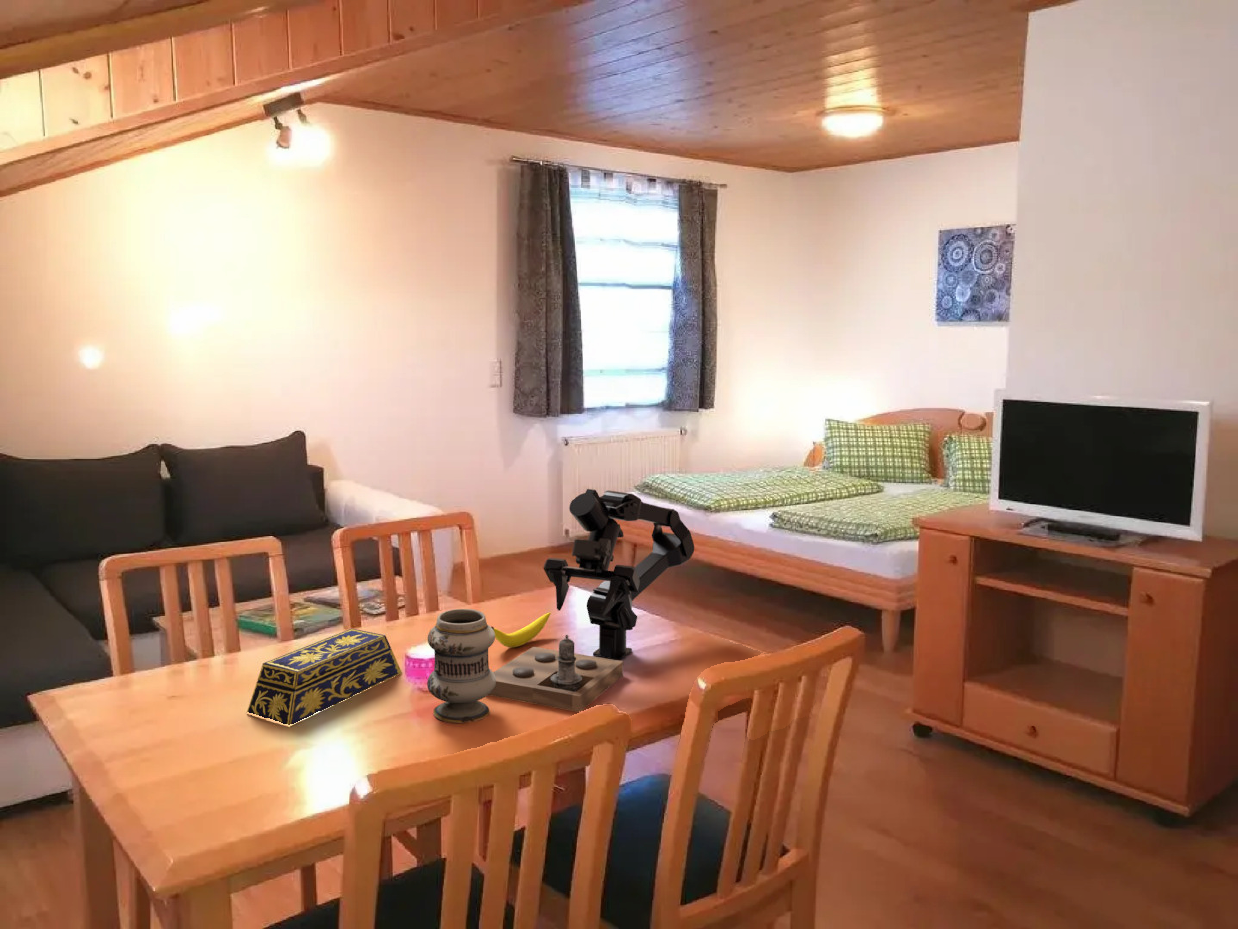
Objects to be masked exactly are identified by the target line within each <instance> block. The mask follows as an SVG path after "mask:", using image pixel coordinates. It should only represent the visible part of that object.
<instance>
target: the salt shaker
mask: <svg viewBox="0 0 1238 929" xmlns="http://www.w3.org/2000/svg"><path fill="white" fill-rule="evenodd" d="M558 651H559V656H558V657H557V660H558V672H557V674H554V675H553V676H551V681H552V684H553V687H554V688H556V689H562V690H567V691H573V692H577V691H578V690H577V689H578V688H579V685H580V681H581V680H582V677H581V676H580V675H578V674H576V673H575V660H576V657H574V653H575V642H574V641H573V640H572V639H570V638H569V635H568V634H566V635H565V636H564V638H563V639H561V640H560V641H559V643H558Z"/></svg>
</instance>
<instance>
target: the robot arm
mask: <svg viewBox="0 0 1238 929" xmlns="http://www.w3.org/2000/svg"><path fill="white" fill-rule="evenodd" d="M568 508H569V509H568V510H569V513H571V515H572V517H574V519H575V521H577V523H578V524H579V526H581V528H582V529H583V530H584V531H586V532H589V534H588V537H587V539H578V538H575V539H574V541H573V545H572V546H573V547H572V552H571V556H573V557H574V556H575V560H574V561H575V563H576V564H577V565H578V564H579V566H578V567H577V566H569V564H568V562H567V559H563V558H554V557H549V558H548V559H546V561H544V565H543V567H542V568H543V570H544V573H545V574H546V576H547V578H548V580H549V582H551V583H553V585H554V587H555V598H556V601H555V602H556V610H557V611H558V612H559V611H561V610H562V607H563V606H564V604H565V599H566V597H567V594H568V591H569V588H570V585H569V582H570V581H571V579H572V578H581V579H590V580H597V581H602V582H601V583H600V584H599V585H598V586H597V587H595V588H593V589H592V591H593V592H592V593H591V594H590V595H589V597H588V600H587V602H586V611H587V614H588V617H589V622H590V625H596V626H599V628H598V629H599V632H598V634H599V636H598V637H599V638H598V641H599V642H598V649H596V650H595V651H593V652H592V655H593V656H594V657H600V658H606V659H612V660H618V661H621V660H622V659H624V658H625V657H626V656H628V655H629V654H630V653H631V652H633V648H632V647H627V631H632V630H633V628H635V627H636V625H637V620H638V615H637V614H636V613H635V612H634V611H633V609H632V608H633V601H634V600H635V599H636V598H637V597H638V596H639V595H640V594H642V593H643V592H644V590H646V589H647V588H648V587H649V586H650V585H651V584H652V583H653V582H655V580H657V578H658V577H660V576H661V575H662V574H663V573H664V572H665V571H666V570H668V569H669V568H674V567H677V566H681V565H683V564H684V563H686V562H688V561H689V560H690V559H691V558H692V557H693V555H694V551H695V544H694V540H693V537H692V534H691V531H690V529H689V528H688V527H687V526H686V525H685V524H684V522H683V521H682V520H681V518H680V514H679V512H678V511H677V510H675V509H674V508H669V507H667V508H666V507H662V506H658V505H654V504H650V503H646V502H644V501H643V500H642V499H641V498H640V497H638V495H635V494H633V493H629V492H623V491H616V490H605V491H604V494H603V495H602V496H600V495H599V493H598V492H597V490H596V489H593V488H592V489H591V488H586V491H585V492H583V493H581V494H579V495H577V496H576V497H575V498H574V499H572V500H571V501H570V503H569V507H568ZM617 520H619V521H623V522H635V521H638V520H640V521H643V522H648V523H652V524H653V531H652V532H651V538H652V541H653V543H652V551H651V552H650V553H649V554H648V555H647V556H646V557H644V558H643V560H641V561H640V562H639V563H638V564H637V565H636V566H633V565H626V564H625V565H623V564H622V565H621V564H616V565H615V566H614V569H613V570H609V569H610V564H611V562H613V561H614V550H615V548H616V544H617V540H618V538H624V530H622V528H621V524H620V523H618V522H617ZM662 527H667V528H670V530H671V531H672V533H671V532H666V531H663V529H662Z"/></svg>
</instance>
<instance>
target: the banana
mask: <svg viewBox="0 0 1238 929" xmlns="http://www.w3.org/2000/svg"><path fill="white" fill-rule="evenodd" d="M551 614H552V612H551V611H549V612H548V613H544V614H543V615H542V616H540V617H538V618H537V619H535V620H534V621H533V622H531V623H530V624H528V625H526V626H525V627H523V628H521V629H518V630H516V631H513V632H511V633H506V632H504V631H502V630H500V629H498V628H495V627H494V626H490V627H491V628H492V629H493V631H494V633H495V640H496V641H498V642H499V643H500V644H501V645H502V646H504V647H507V648H517V647H520V646H522V645H525V644H527V643H528V642H530V641H532V640H533V639H534V638H535V637H537V636H538V634H539V633H541V631H542V630H543V629H544V627H545V626H546V624H547V622H548V620H549V619H550V617H551Z"/></svg>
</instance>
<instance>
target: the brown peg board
mask: <svg viewBox="0 0 1238 929" xmlns="http://www.w3.org/2000/svg"><path fill="white" fill-rule="evenodd" d="M558 656H559V650H555V649H551V648H550V649H549V648H544V647H539V646H538V647H537V646H532V647H531V648H528V650H526V651H525V652H523V653H521V654H520V655H518V656H516V657H515V658H513V659H512V660H510V661H508V662H507V663H506V664H504V665H502V666H501V667H500V668H498V669H496V670H495V671H492V672H493V673H494V675H495V678H496V684H495V687H494V689H493V690H492V692H491V693H490V694H489V695H488V696H491V697H496V698H503V699H508V700H512V701H519V702H523V703H529V704H534V705H539V706H545V707H551V708H556V709H560V710H567V711H573V712H578V713H580V712H579V711H581V712H582V711H583V710H584V709H585V708H586V707H588V706H589V705H591V704H592V703H593V702H594V701H596V699H598V698H599V697H600V696H601V695H603V693H604V692H606V691H607V690H608V689H609V688H611V686H613V685H614V684H615V683H616V682H618V680H620V679H621V678H622V677H623V676H624V661H623V660H619V659H613V658H606V657H600V656H594V655H593V656H591V655H587V654H582V653H580V654H579V653H575V652H574V657H576V660H575V673H576V674H578V675H580V676H581V677H582V680H581V681H580V685H579V688H578V689H577V690H576V692H573V691H567V690H562V689H556V688H554V687H553V684H552V681H551V676H553V675H554V674H557V672H558V660H557V657H558Z"/></svg>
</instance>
